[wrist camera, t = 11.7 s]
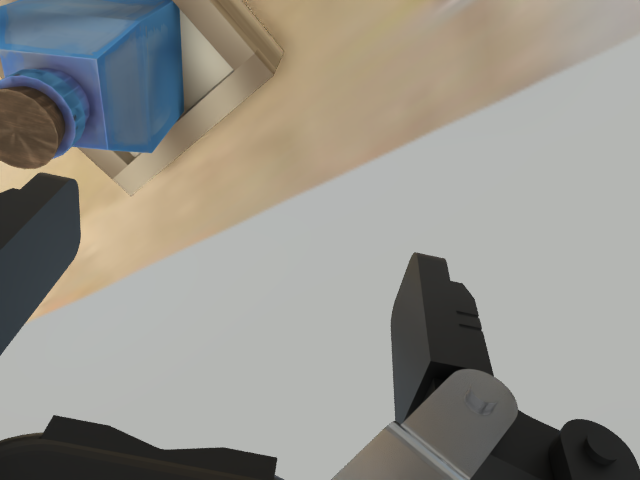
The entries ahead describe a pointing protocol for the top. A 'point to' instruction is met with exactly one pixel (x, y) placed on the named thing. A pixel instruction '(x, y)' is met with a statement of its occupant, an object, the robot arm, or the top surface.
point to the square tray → (200, 83)
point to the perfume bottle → (87, 77)
